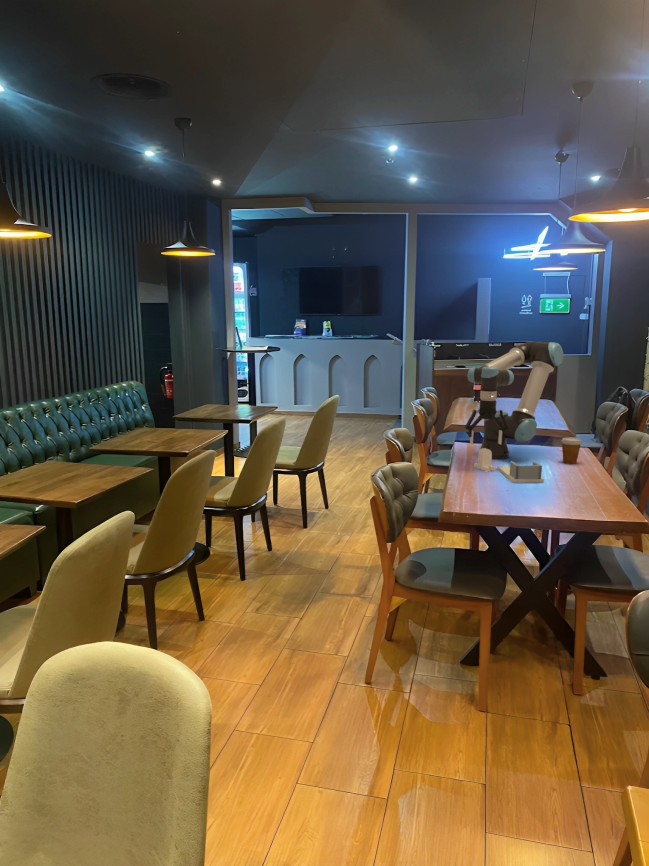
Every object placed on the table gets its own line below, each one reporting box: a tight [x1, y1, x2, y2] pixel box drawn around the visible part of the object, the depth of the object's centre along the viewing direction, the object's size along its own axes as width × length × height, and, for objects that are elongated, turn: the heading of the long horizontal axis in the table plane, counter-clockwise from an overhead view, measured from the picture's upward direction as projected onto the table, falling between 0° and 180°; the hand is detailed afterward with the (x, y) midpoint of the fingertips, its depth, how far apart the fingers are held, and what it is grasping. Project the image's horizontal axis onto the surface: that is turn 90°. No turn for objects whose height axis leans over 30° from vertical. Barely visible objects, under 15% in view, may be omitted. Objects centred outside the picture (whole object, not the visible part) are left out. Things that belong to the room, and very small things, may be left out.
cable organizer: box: [474, 448, 496, 472], centre depth 299 cm, size 5×10×10 cm, turn 22°
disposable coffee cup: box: [560, 436, 583, 465], centre depth 311 cm, size 10×10×12 cm
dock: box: [497, 460, 545, 483], centre depth 287 cm, size 23×14×8 cm, turn 1°
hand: (485, 443), depth 297 cm, fingers open, 13 cm apart
